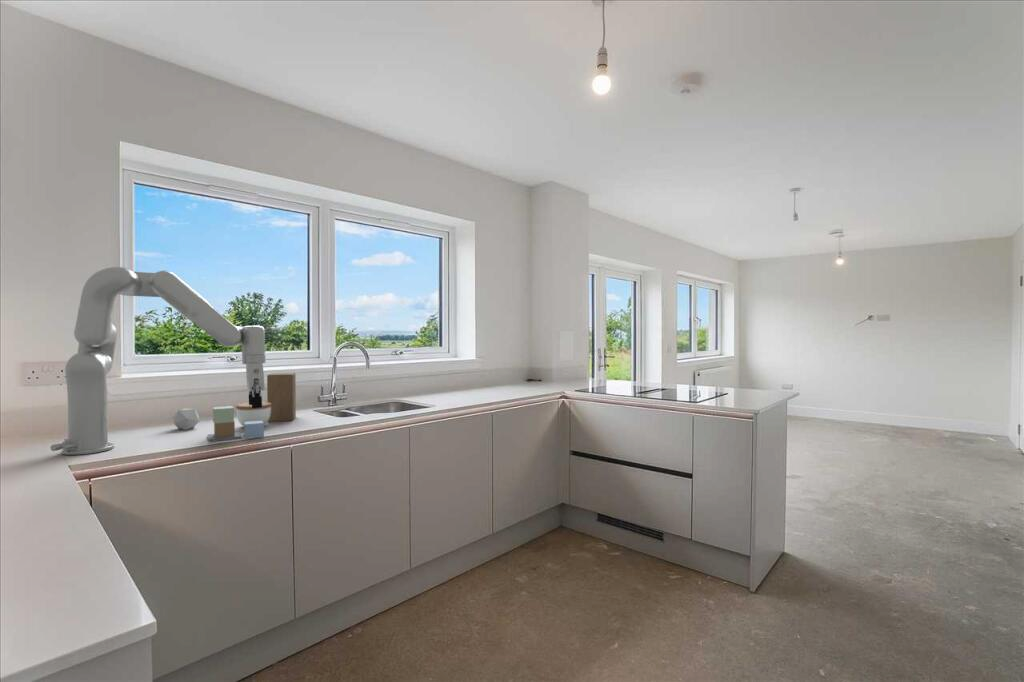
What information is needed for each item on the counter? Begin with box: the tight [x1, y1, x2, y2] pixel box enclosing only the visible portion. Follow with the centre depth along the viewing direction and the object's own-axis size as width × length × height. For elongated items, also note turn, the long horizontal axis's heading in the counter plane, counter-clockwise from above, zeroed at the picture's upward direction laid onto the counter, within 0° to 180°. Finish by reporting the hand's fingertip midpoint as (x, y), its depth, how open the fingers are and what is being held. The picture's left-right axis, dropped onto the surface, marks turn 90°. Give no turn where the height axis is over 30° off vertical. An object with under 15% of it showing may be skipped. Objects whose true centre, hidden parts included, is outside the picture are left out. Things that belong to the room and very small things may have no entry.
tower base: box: [207, 421, 242, 442], centre depth 177 cm, size 10×10×6 cm
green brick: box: [212, 405, 235, 425], centre depth 177 cm, size 6×6×5 cm
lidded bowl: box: [235, 401, 272, 427], centre depth 198 cm, size 13×13×11 cm
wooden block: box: [266, 372, 297, 423], centre depth 214 cm, size 10×10×20 cm
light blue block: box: [243, 421, 265, 439], centre depth 181 cm, size 6×6×5 cm
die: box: [173, 407, 200, 431], centre depth 193 cm, size 8×9×10 cm
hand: (255, 406), depth 181 cm, fingers open, 9 cm apart
